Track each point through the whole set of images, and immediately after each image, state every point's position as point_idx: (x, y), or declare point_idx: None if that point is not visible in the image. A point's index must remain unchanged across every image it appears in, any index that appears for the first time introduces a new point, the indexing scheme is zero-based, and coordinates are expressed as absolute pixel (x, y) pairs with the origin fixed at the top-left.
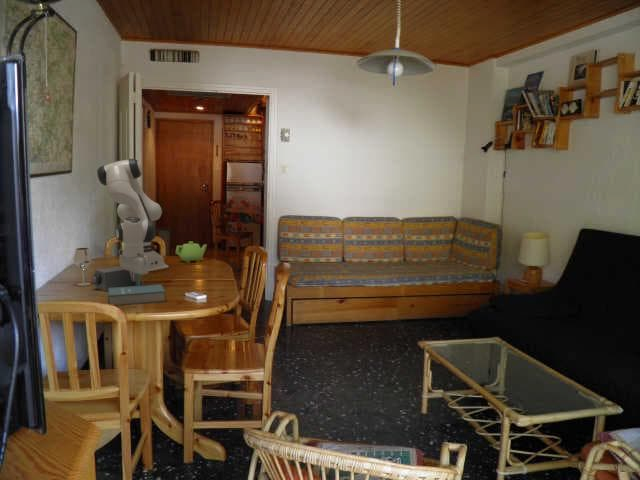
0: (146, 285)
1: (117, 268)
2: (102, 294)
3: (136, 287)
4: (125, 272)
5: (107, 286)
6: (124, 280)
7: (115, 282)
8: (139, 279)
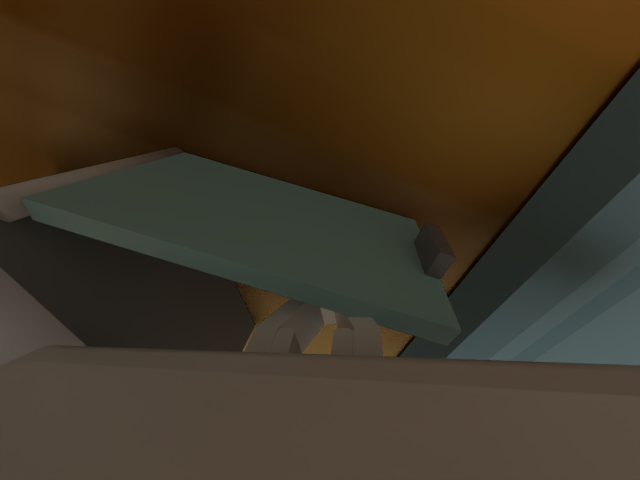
0: (624, 264)
1: (13, 349)
2: (312, 351)
3: (588, 353)
4: (109, 309)
5: (240, 337)
6: (177, 268)
7: (211, 317)
8: (440, 294)
